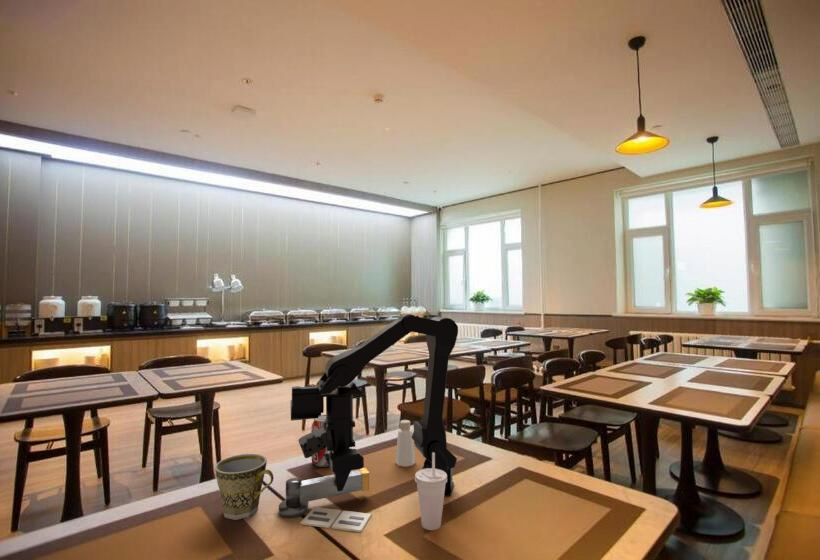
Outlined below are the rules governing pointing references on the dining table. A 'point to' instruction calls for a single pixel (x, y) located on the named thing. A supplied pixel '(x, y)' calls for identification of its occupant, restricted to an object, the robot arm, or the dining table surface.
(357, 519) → the label
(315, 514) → the label
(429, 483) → the smoothie
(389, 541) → the dining table surface
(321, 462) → the soda can
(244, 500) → the ceramic cup
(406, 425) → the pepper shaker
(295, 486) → the swing arm
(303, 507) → the pivot base
